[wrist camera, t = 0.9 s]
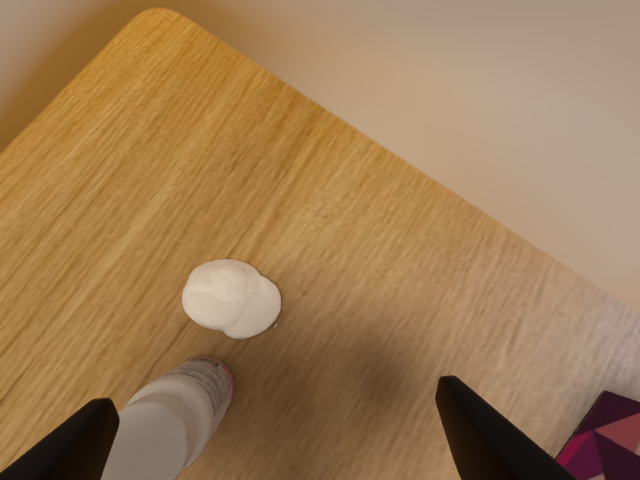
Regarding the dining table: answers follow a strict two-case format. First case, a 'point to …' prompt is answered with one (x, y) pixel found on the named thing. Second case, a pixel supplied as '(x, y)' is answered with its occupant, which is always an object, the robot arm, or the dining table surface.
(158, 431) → the pill bottle
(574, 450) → the decorative box
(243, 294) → the dumpling
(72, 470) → the robot arm
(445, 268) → the dining table surface
